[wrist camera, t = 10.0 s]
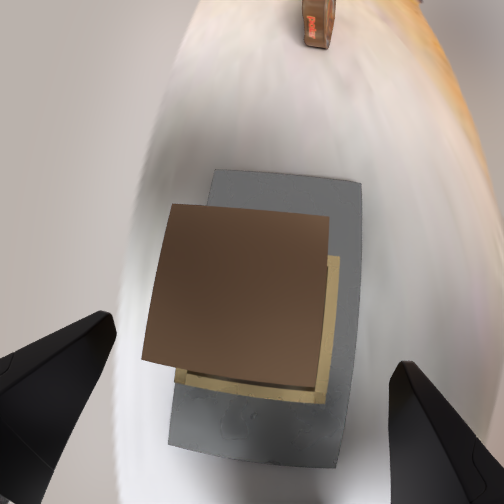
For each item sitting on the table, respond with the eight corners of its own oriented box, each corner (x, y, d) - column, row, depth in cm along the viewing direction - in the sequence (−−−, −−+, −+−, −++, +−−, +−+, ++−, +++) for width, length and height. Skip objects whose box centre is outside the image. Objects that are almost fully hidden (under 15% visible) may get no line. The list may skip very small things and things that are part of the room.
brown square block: (290, 363, 18) (314, 387, 6) (226, 355, 18) (141, 359, 7) (298, 300, 19) (329, 216, 7) (235, 293, 19) (172, 203, 8)
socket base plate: (333, 463, 16) (348, 492, 11) (172, 440, 18) (143, 462, 13) (358, 189, 22) (374, 151, 17) (217, 176, 23) (203, 136, 19)
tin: (326, 62, 27) (332, -2, 19) (297, 57, 28) (298, -7, 20) (336, 11, 32) (340, -36, 24) (314, 7, 32) (316, -40, 24)
